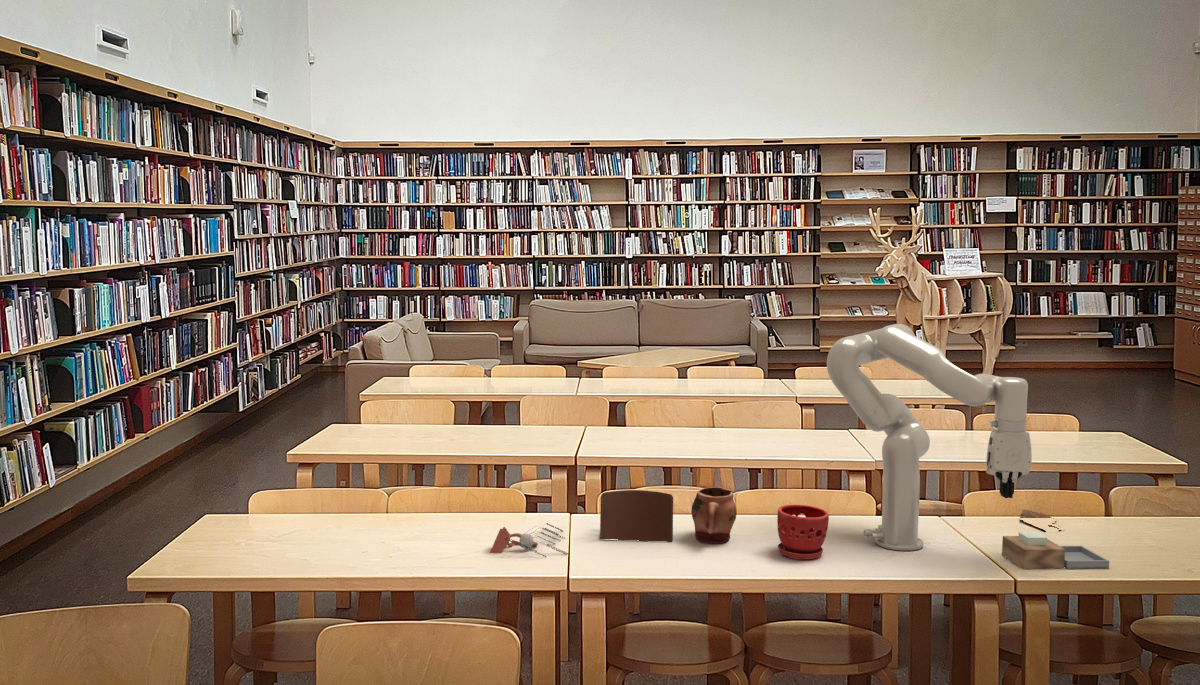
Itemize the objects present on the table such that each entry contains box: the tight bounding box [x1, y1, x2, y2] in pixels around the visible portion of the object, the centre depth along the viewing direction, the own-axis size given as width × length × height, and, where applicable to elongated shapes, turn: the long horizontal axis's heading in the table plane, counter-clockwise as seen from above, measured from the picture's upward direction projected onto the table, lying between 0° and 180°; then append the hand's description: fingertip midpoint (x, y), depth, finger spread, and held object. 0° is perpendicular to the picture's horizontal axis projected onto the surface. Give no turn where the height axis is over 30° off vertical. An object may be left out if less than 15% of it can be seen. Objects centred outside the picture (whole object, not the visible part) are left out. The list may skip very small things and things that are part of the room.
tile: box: [1017, 531, 1048, 545], centre depth 264 cm, size 5×5×2 cm
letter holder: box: [599, 489, 674, 543], centre depth 283 cm, size 10×20×14 cm, turn 86°
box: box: [1059, 545, 1110, 570], centre depth 265 cm, size 11×13×2 cm
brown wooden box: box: [1001, 535, 1065, 570], centre depth 264 cm, size 10×12×5 cm
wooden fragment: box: [1019, 509, 1059, 529], centre depth 303 cm, size 26×11×1 cm, turn 169°
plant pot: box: [776, 504, 830, 560], centre depth 268 cm, size 13×13×12 cm
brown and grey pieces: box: [489, 522, 569, 558], centre depth 276 cm, size 20×9×25 cm
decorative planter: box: [691, 486, 738, 544], centre depth 279 cm, size 20×12×14 cm, turn 175°
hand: (1006, 496), depth 262 cm, fingers closed
